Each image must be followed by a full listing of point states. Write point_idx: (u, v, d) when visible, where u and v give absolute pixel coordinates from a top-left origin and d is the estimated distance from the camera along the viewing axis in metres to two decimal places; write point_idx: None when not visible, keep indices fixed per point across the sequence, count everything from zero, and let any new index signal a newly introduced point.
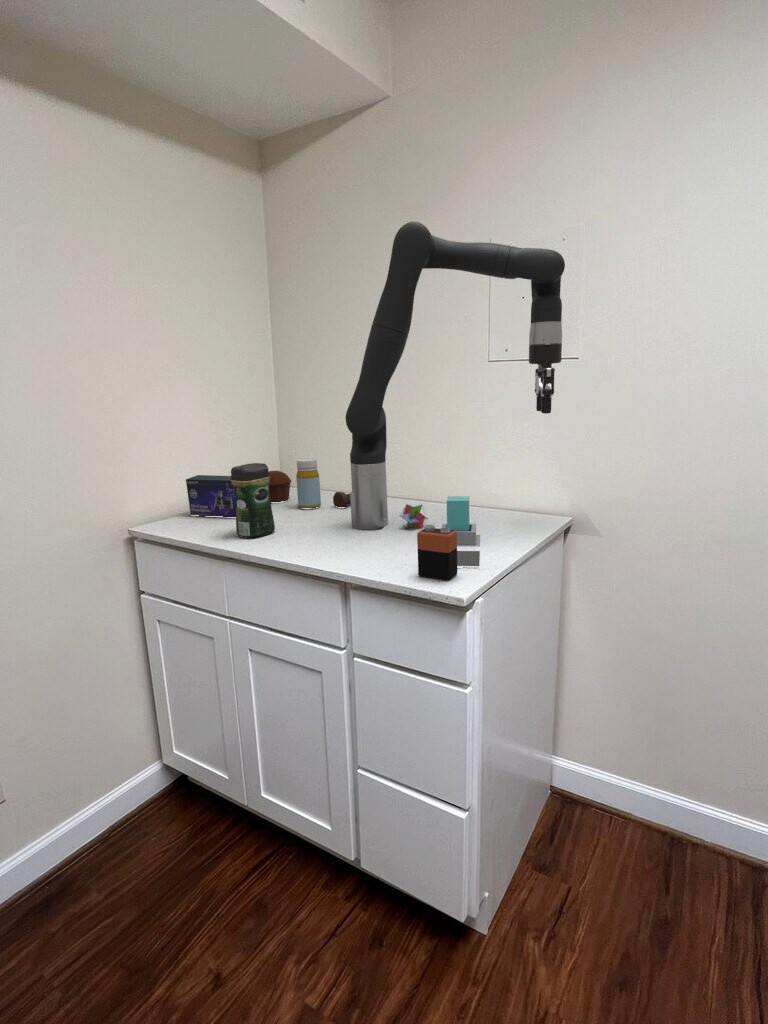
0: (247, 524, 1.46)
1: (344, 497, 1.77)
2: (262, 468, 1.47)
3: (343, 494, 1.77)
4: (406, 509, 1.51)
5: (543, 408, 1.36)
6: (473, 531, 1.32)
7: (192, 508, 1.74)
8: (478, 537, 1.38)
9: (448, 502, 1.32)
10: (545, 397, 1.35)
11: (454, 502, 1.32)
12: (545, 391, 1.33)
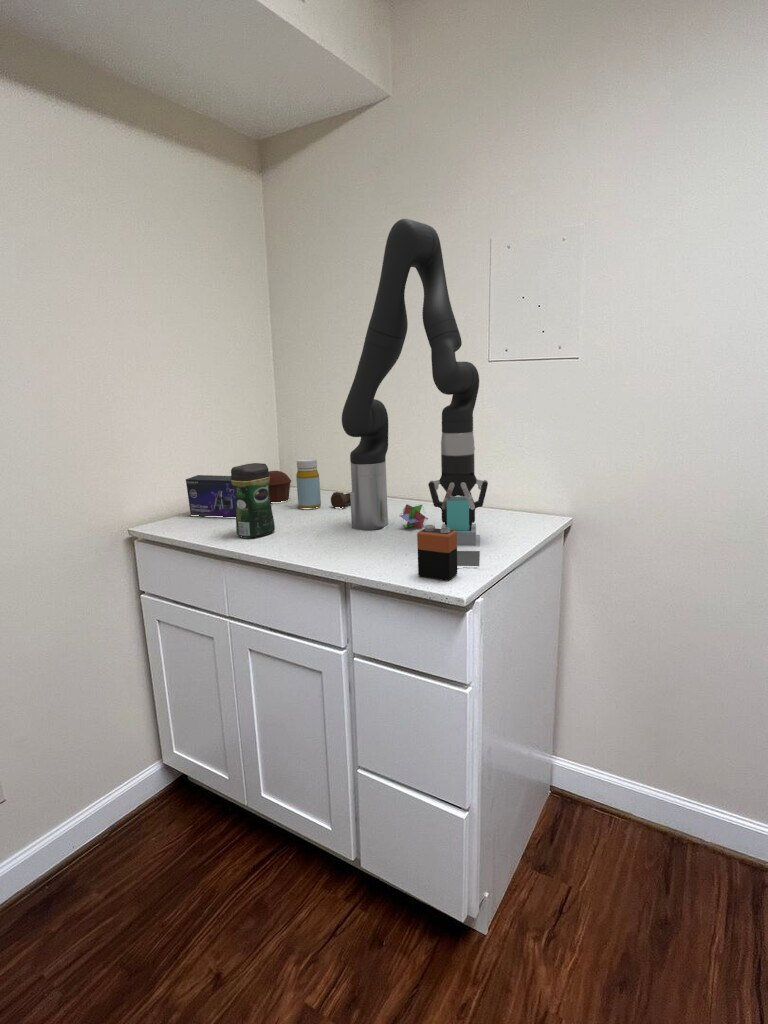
0: (247, 524, 1.46)
1: (343, 497, 1.77)
2: (262, 468, 1.47)
3: (342, 494, 1.77)
4: (406, 509, 1.51)
5: (473, 520, 1.34)
6: (473, 531, 1.32)
7: (192, 508, 1.74)
8: (478, 537, 1.38)
9: (448, 502, 1.32)
10: None
11: (454, 502, 1.32)
12: (482, 503, 1.33)
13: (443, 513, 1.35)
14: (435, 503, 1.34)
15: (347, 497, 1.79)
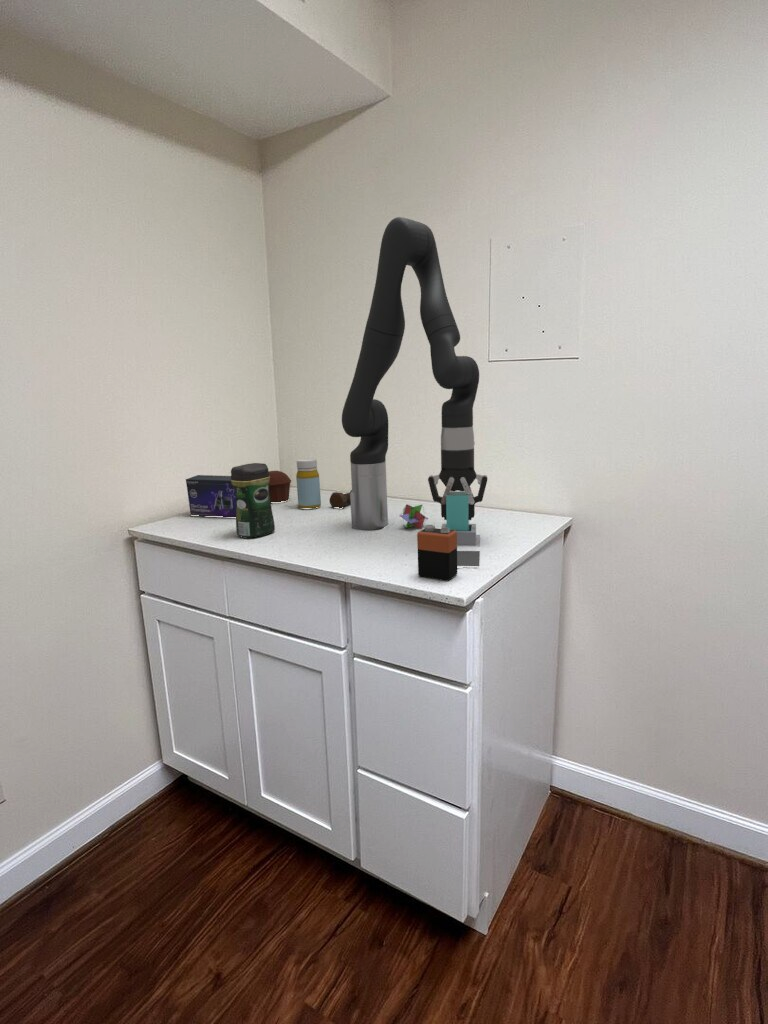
0: (247, 524, 1.46)
1: (342, 497, 1.76)
2: (262, 468, 1.47)
3: (341, 494, 1.77)
4: (406, 509, 1.51)
5: (472, 515, 1.34)
6: (473, 531, 1.32)
7: (192, 508, 1.74)
8: (478, 537, 1.38)
9: (448, 497, 1.32)
10: (474, 504, 1.33)
11: (454, 497, 1.32)
12: None
13: (442, 508, 1.35)
14: (435, 498, 1.34)
15: (346, 497, 1.79)
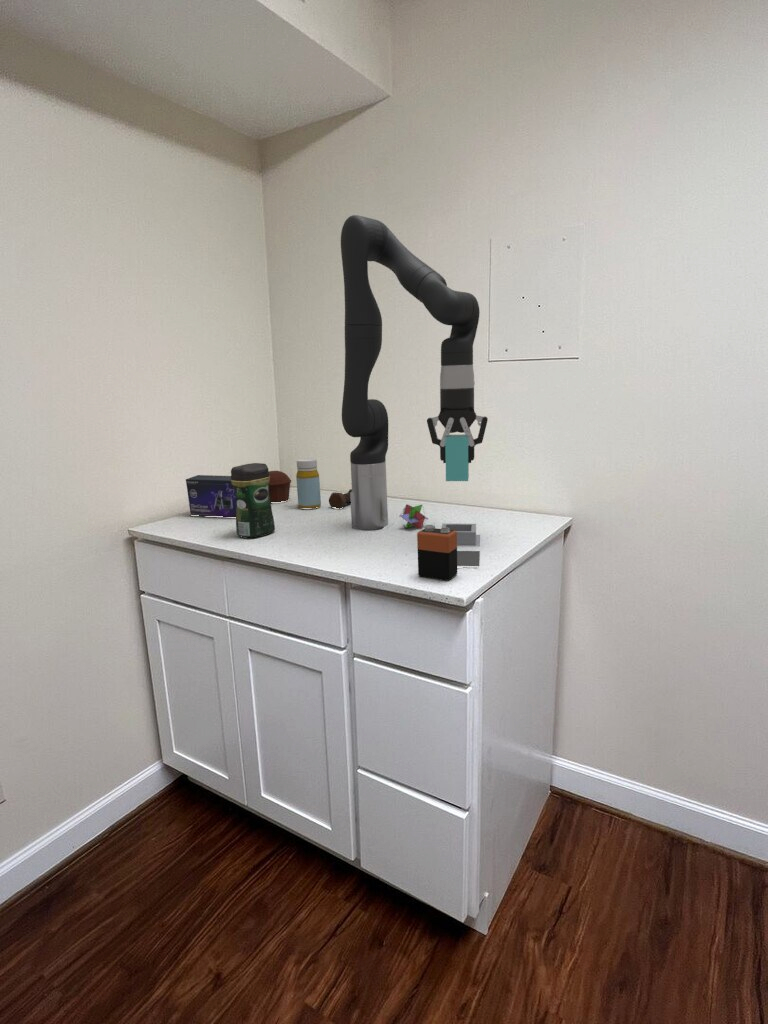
0: (247, 524, 1.46)
1: (342, 497, 1.76)
2: (262, 468, 1.47)
3: (341, 494, 1.76)
4: (406, 509, 1.51)
5: (472, 457, 1.31)
6: (473, 531, 1.32)
7: (192, 508, 1.74)
8: (478, 537, 1.38)
9: (447, 438, 1.29)
10: (474, 446, 1.30)
11: (453, 438, 1.29)
12: None
13: (442, 451, 1.32)
14: (433, 440, 1.31)
15: (345, 497, 1.79)
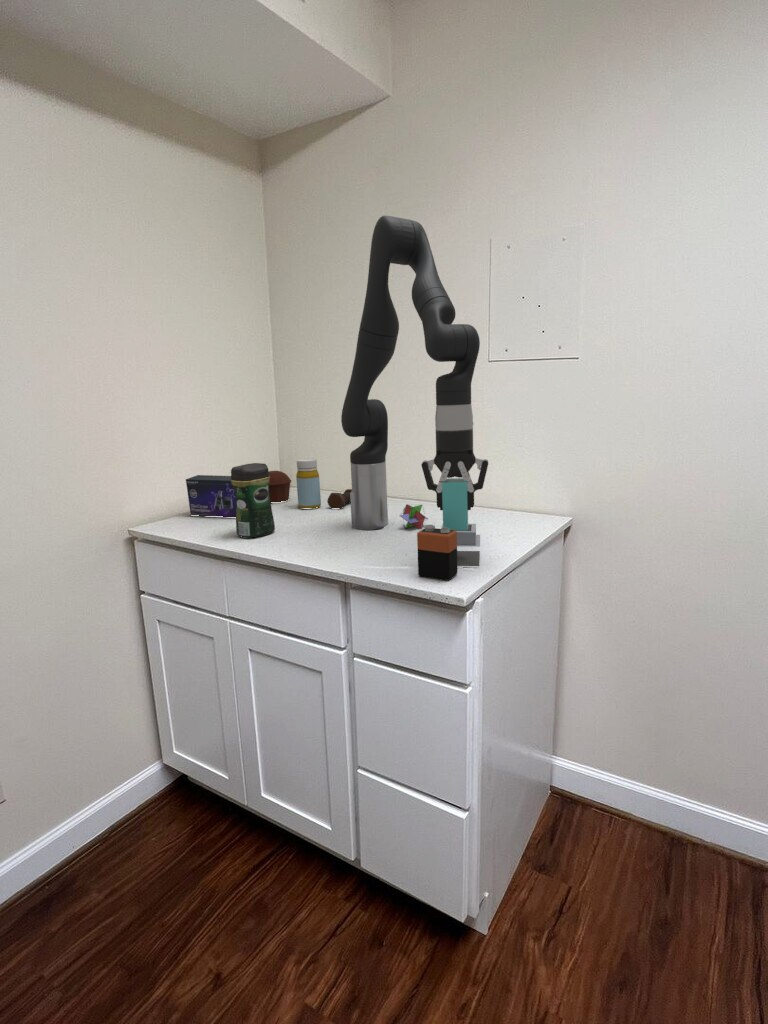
0: (247, 524, 1.46)
1: (342, 497, 1.76)
2: (262, 468, 1.47)
3: (340, 494, 1.76)
4: (406, 509, 1.51)
5: (472, 504, 1.19)
6: (473, 531, 1.32)
7: (192, 508, 1.74)
8: (478, 537, 1.38)
9: (444, 484, 1.17)
10: None
11: (450, 484, 1.17)
12: (482, 485, 1.18)
13: (438, 497, 1.20)
14: (429, 485, 1.19)
15: (344, 497, 1.79)
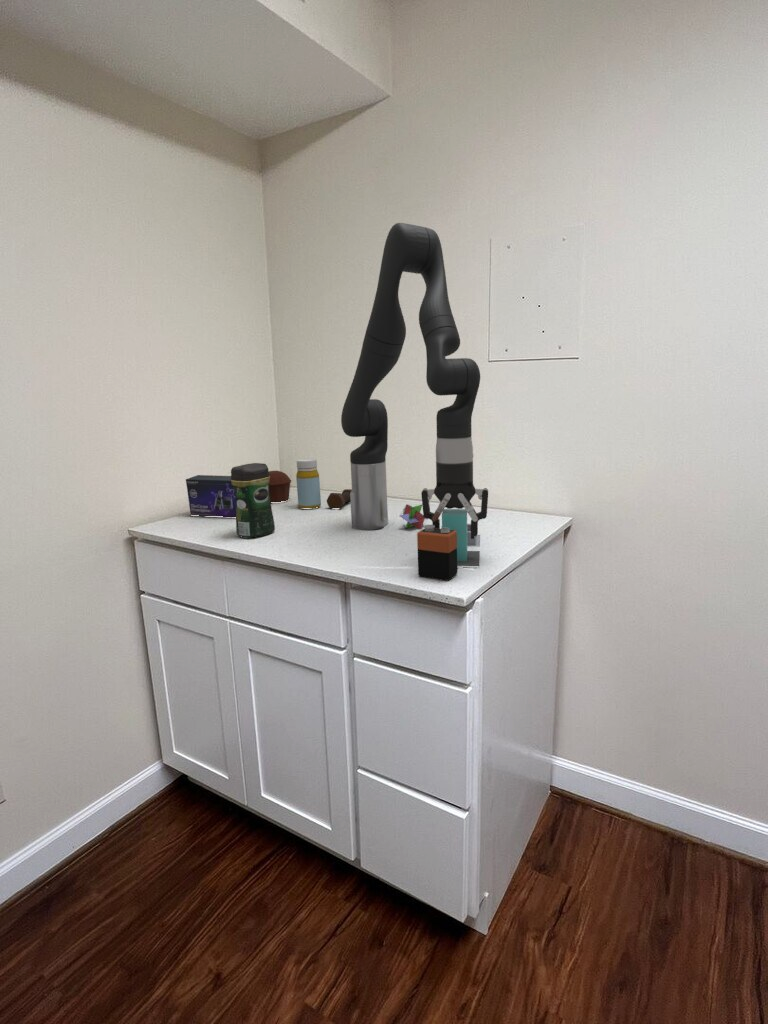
0: (247, 524, 1.46)
1: (341, 497, 1.76)
2: (262, 468, 1.47)
3: (340, 495, 1.76)
4: (406, 509, 1.51)
5: (475, 533, 1.20)
6: None
7: (192, 508, 1.74)
8: (478, 537, 1.38)
9: (443, 516, 1.19)
10: None
11: (450, 516, 1.19)
12: None
13: (434, 525, 1.21)
14: (425, 514, 1.21)
15: (343, 497, 1.79)
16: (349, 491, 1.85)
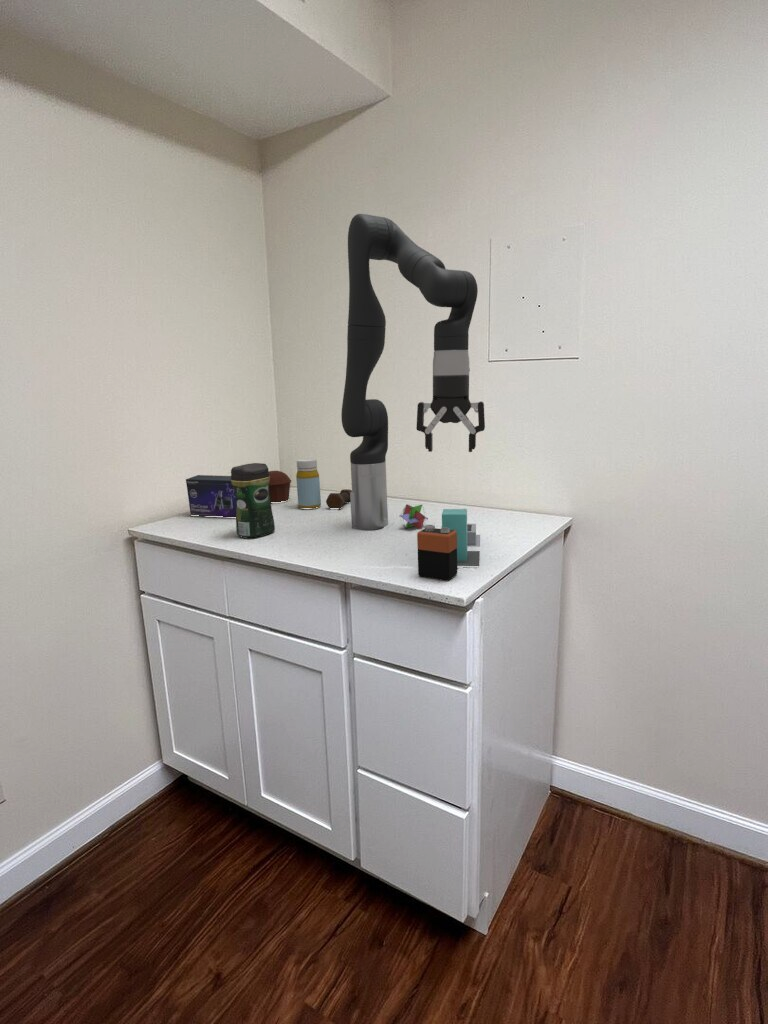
0: (247, 524, 1.46)
1: (341, 498, 1.76)
2: (262, 468, 1.47)
3: (339, 495, 1.76)
4: (406, 509, 1.51)
5: (473, 446, 1.22)
6: (473, 531, 1.32)
7: (192, 508, 1.74)
8: (478, 537, 1.38)
9: (443, 516, 1.19)
10: None
11: (450, 516, 1.19)
12: None
13: (427, 438, 1.23)
14: (418, 427, 1.22)
15: None
16: (347, 491, 1.85)
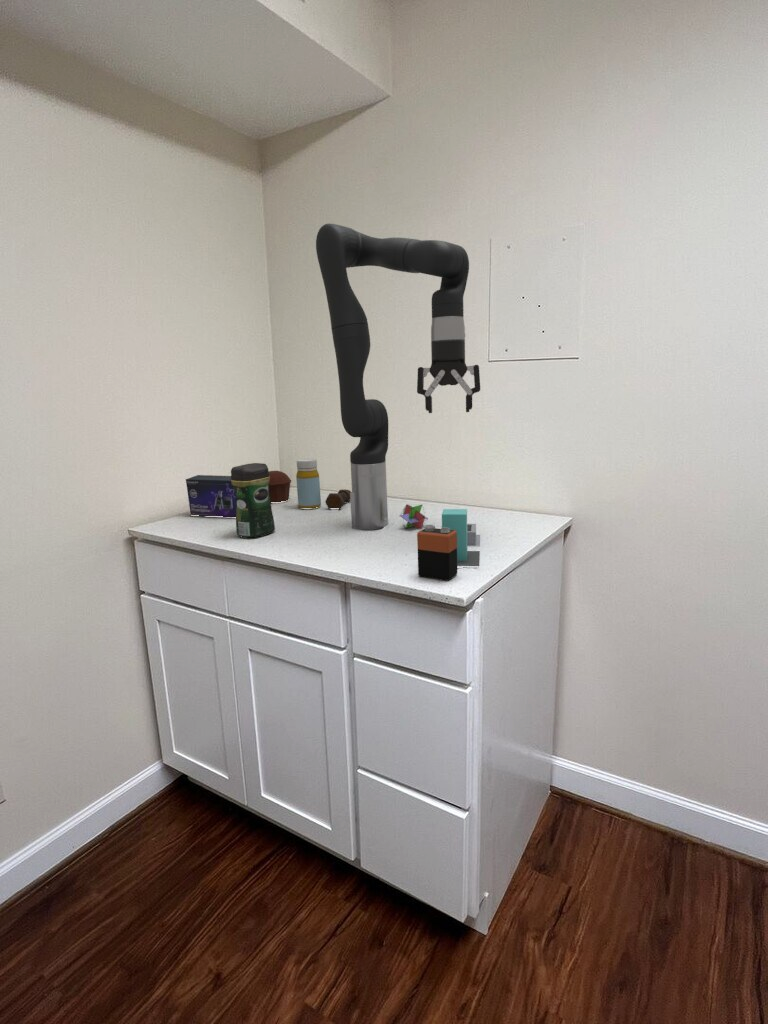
0: (247, 524, 1.46)
1: (341, 498, 1.76)
2: (262, 468, 1.47)
3: (339, 495, 1.76)
4: (406, 509, 1.51)
5: (470, 406, 1.31)
6: (473, 531, 1.32)
7: (192, 508, 1.74)
8: (478, 537, 1.38)
9: (443, 516, 1.19)
10: None
11: (450, 516, 1.19)
12: None
13: (427, 401, 1.33)
14: (419, 390, 1.32)
15: None
16: (345, 491, 1.85)
